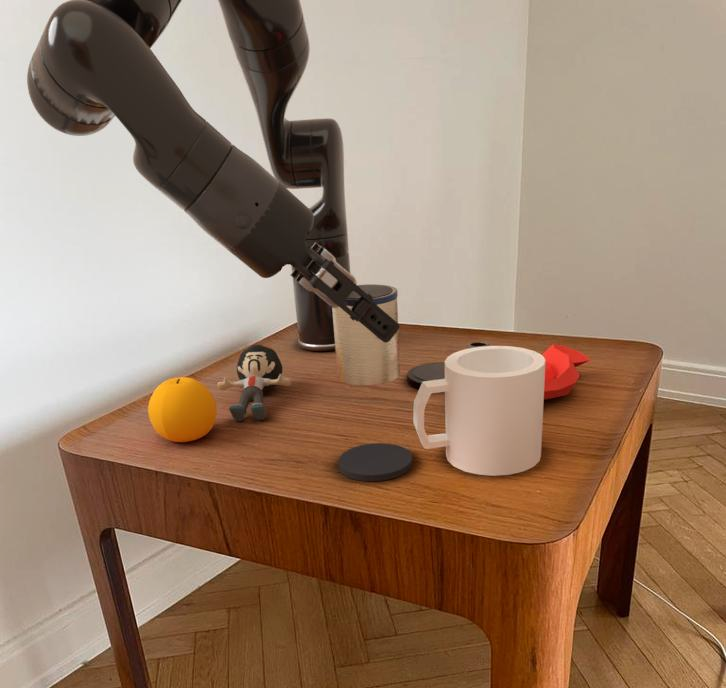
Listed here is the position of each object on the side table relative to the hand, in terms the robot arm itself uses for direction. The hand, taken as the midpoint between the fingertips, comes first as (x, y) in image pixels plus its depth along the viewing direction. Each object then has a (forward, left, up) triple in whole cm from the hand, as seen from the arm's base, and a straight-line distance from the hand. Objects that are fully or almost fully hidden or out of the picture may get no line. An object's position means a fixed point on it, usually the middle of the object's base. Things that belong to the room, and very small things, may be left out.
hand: (381, 325), depth 74 cm
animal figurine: (-13, +25, -15) cm, 32 cm away
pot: (0, -2, -5) cm, 5 cm away
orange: (-17, -21, -15) cm, 31 cm away
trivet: (0, -2, -15) cm, 15 cm away
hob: (-22, +14, -15) cm, 30 cm away
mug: (+2, +10, -15) cm, 18 cm away
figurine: (-25, -11, -15) cm, 31 cm away
